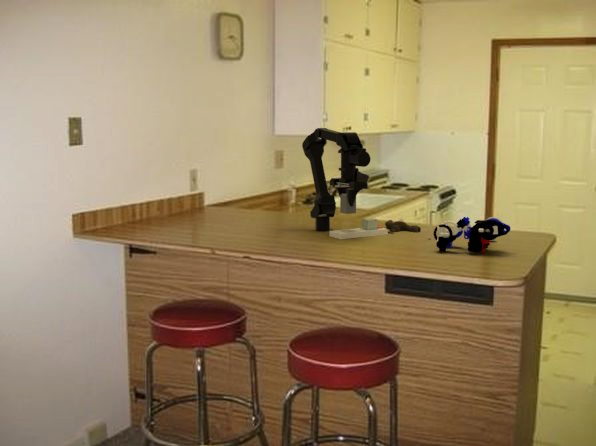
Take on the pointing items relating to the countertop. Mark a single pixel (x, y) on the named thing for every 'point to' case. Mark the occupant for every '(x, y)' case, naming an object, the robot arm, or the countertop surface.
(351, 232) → the power strip
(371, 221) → the lamp plug
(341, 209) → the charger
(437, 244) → the robot toy
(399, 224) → the faucet
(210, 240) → the countertop surface
